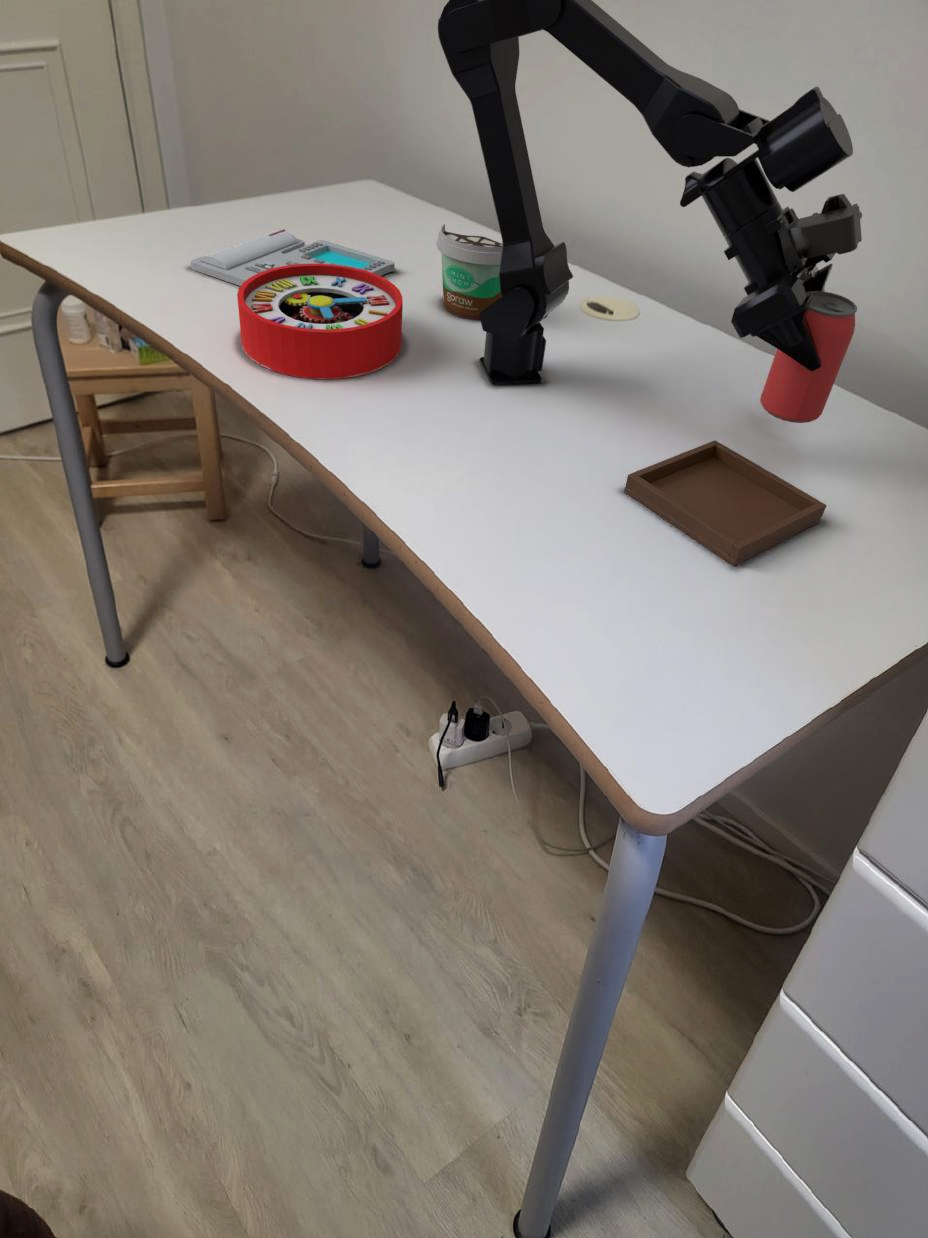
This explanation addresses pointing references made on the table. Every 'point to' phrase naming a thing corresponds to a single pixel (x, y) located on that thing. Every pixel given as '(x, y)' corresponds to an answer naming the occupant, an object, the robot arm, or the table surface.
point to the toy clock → (320, 320)
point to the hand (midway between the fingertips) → (823, 356)
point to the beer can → (795, 386)
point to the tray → (724, 501)
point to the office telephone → (283, 257)
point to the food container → (469, 273)
